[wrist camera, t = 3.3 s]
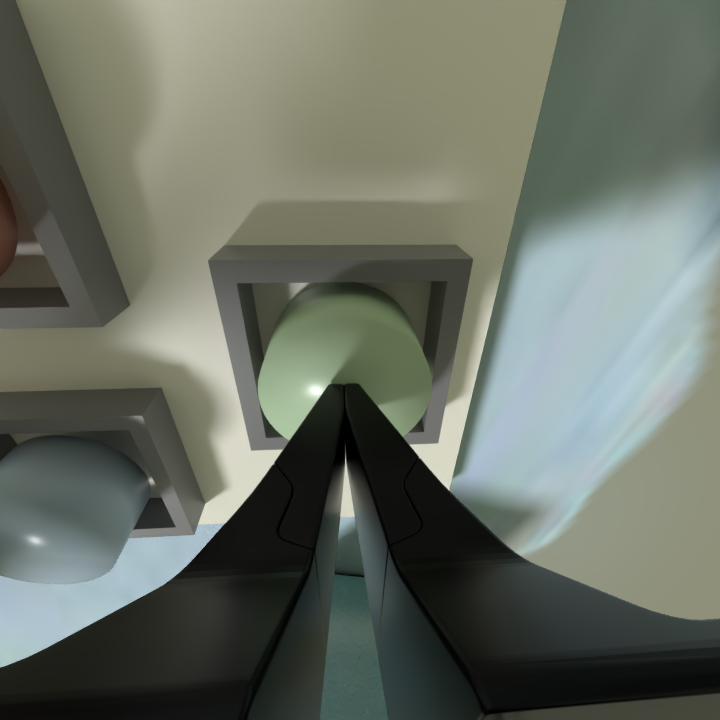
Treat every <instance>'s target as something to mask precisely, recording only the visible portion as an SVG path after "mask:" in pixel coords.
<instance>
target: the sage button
mask: <svg viewBox="0 0 720 720" xmlns="http://www.w3.org/2000/svg"><path fill="white" fill-rule="evenodd" d="M347 383H358V384H360V385H361V387H362V388H363V389H364V390H365V392H366V393H367V394H368V395H369V396H370V398H371V399H372V400H373V401H374V402H375V404H376V405H377V406H378V407H379V409H380V410H381V411H382V412H383V413H384V415H385V416H386V417H387V418H388V419H389V421H390V422H391V423H392V424H393V425H394V427H395V428H396V429H397V430H398V432H399V433H400V434H401V435H402V436H404V435H406V434H407V433H408V432H409V431H410V430H411V429H412V428H413V427H414V426H415V425H416V424H417V423H418V422H419V420H420V419H421V418H422V416H423V414H424V413H425V411H426V409H427V406H428V404H429V401H430V397H431V392H432V378H431V372H430V368H429V365H428V363H427V360H426V358H425V356H424V353H423V351H422V348H421V346H420V344H419V341H418V339H417V337H416V334H415V332H414V330H413V327H412V325H411V322H410V320H409V318H408V316H407V314H406V313H405V311H404V310H403V308H402V307H401V306H400V305H399V304H398V303H397V302H396V301H395V300H394V299H393V298H392V297H391V296H389V295H388V294H386V293H384V292H383V291H381V290H379V289H377V288H375V287H372V286H369V285H366V284H362V283H357V282H331V283H326V284H322V285H319V286H316V287H313V288H311V289H309V290H307V291H305V292H303V293H302V294H300V295H299V296H297V297H296V298H295V299H294V300H292V301H291V302H290V303H289V304H288V305H287V306H286V308H285V309H284V310H283V311H282V313H281V315H280V316H279V318H278V320H277V323H276V325H275V328H274V331H273V334H272V337H271V340H270V343H269V346H268V349H267V352H266V355H265V358H264V361H263V364H262V367H261V371H260V375H259V379H258V397H259V401H260V405H261V408H262V410H263V412H264V415H265V416H266V418H267V419H268V421H269V423H270V424H271V425H272V426H273V427H274V428H275V430H276V431H278V432H279V433H280V434H281V435H282V436H283V437H285V438H286V439H288V440H290V439H291V437H292V436H293V435H294V433H295V432H296V430H297V429H298V427H299V426H300V425H301V423H302V422H303V420H304V419H305V417H306V416H307V415H308V413H309V412H310V410H311V409H312V407H313V406H314V404H315V403H316V402H317V400H318V399H319V397H320V396H321V394H322V393H323V392H324V390H325V389H326V387H327V386H328V385H329V384H343V385H345V384H347ZM345 455H346V450H345Z"/></svg>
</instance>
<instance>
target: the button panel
mask: <svg viewBox="0 0 720 720" xmlns="http://www.w3.org/2000/svg"><path fill="white" fill-rule="evenodd" d="M566 1H567V0H0V179H1V181H2V183H3V185H4V186H5V189H6V191H7V193H8V196H9V198H10V200H11V203H12V206H13V210H14V213H15V216H16V223H17V229H18V243H17V249H16V253H15V256H14V259H13V261H12V263H11V265H10V266H9V268H8V269H7V271H5V272H4V273H3V274H2V275H1V276H0V461H1V460H2V459H3V458H4V457H5V456H6V455H7V454H8V453H9V452H10V451H11V450H12V449H13V448H14V447H16V446H17V445H18V444H20V443H22V442H24V441H26V440H28V439H32V438H35V437H40V436H48V435H65V436H74V437H80V438H85V439H89V440H93V441H96V442H99V443H102V444H104V445H107V446H109V447H112V448H114V449H115V450H117V451H119V452H121V453H123V454H124V455H126V456H127V457H129V458H130V459H131V460H133V461H134V462H135V463H136V464H137V465H138V466H139V467H140V468H141V469H142V470H143V471H144V473H145V474H146V476H147V477H148V480H149V482H150V486H151V494H150V498H149V500H148V502H147V504H146V506H145V508H144V509H143V511H142V513H141V515H140V517H139V519H138V521H137V523H136V525H135V527H134V529H133V531H132V532H131V534H130V536H129V538H142V537H161V536H180V535H194V534H195V531H196V528H197V526H198V524H217V523H226V522H227V521H228V520H229V519H230V518H231V516H232V515H233V514H234V513H235V512H236V511H237V510H238V508H239V507H240V506H241V505H242V504H243V503H244V501H245V500H246V499H247V498H248V497H249V495H250V494H251V493H252V492H253V491H254V489H255V488H256V487H257V485H258V484H259V483H260V481H261V480H262V479H263V477H264V476H265V474H266V473H267V472H268V470H269V469H270V467H271V466H272V465H273V464H274V462H275V460H276V459H277V457H278V456H279V455H280V453H281V452H282V450H283V449H284V447H285V446H286V445H287V443H288V442H289V440H288V439H286V438H285V437H283V436H282V435H281V434H280V433H279V432H278V431H276V430H275V428H274V427H273V426H272V425H271V424H270V423H269V421H268V419H267V418H266V416H265V415H264V412H263V410H262V408H261V405H260V401H259V397H258V379H259V375H260V371H261V367H262V364H263V361H264V358H265V355H266V352H267V349H268V346H269V343H270V340H271V337H272V334H273V331H274V328H275V325H276V323H277V320H278V318H279V316H280V315H281V313H282V311H283V310H284V309H285V308H286V306H287V305H288V304H289V303H290V302H291V301H292V300H294V299H295V298H296V297H297V296H299V295H300V294H302V293H303V292H305V291H307V290H309V289H311V288H313V287H316V286H319V285H322V284H326V283H331V282H357V283H362V284H366V285H369V286H372V287H375V288H377V289H379V290H381V291H383V292H384V293H386V294H388V295H389V296H391V297H392V298H393V299H394V300H395V301H396V302H397V303H398V304H399V305H400V306H401V307H402V308H403V310H404V311H405V313H406V314H407V316H408V318H409V320H410V322H411V325H412V327H413V330H414V332H415V334H416V337H417V339H418V341H419V344H420V346H421V348H422V351H423V353H424V356H425V358H426V360H427V363H428V365H429V368H430V372H431V378H432V392H431V397H430V401H429V404H428V406H427V409H426V411H425V413H424V414H423V416H422V418H421V419H420V420H419V422H418V423H417V424H416V425H415V426H414V427H413V428H412V429H411V430H410V431H409V432H408V433H407V434H406V435H404V436H403V438H404V439H405V440H406V441H407V442H408V444H409V445H410V446H411V447H412V449H413V450H414V451H415V452H416V453H417V455H418V456H419V458H421V459H422V460H423V462H424V463H425V464H426V465H427V467H428V468H429V469H430V470H431V471H432V472H433V474H434V475H435V476H436V477H437V478H438V479H439V480H440V482H441V483H442V484H443V485H444V486H445V487H446V488H447V489H448V490H449V489H450V485H451V481H452V477H453V472H454V468H455V464H456V460H457V456H458V452H459V447H460V443H461V439H462V435H463V431H464V427H465V422H466V418H467V414H468V410H469V406H470V402H471V397H472V393H473V389H474V385H475V381H476V376H477V372H478V368H479V364H480V360H481V356H482V351H483V347H484V343H485V339H486V335H487V331H488V326H489V322H490V318H491V314H492V310H493V306H494V301H495V297H496V293H497V289H498V285H499V280H500V276H501V272H502V268H503V264H504V260H505V255H506V251H507V247H508V243H509V239H510V235H511V230H512V226H513V222H514V218H515V214H516V210H517V205H518V201H519V197H520V193H521V189H522V184H523V180H524V176H525V172H526V168H527V164H528V159H529V155H530V151H531V147H532V143H533V139H534V134H535V130H536V126H537V122H538V118H539V114H540V109H541V105H542V101H543V97H544V93H545V88H546V84H547V80H548V76H549V72H550V68H551V63H552V59H553V55H554V51H555V47H556V43H557V38H558V34H559V30H560V26H561V22H562V18H563V13H564V9H565V5H566ZM340 517H355V515H354V509H353V502H352V496H351V490H350V484H349V478H348V472H347V465H346V455H345V474H344V484H343V494H342V504H341V514H340Z"/></svg>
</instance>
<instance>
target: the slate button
mask: <svg viewBox="0 0 720 720" xmlns="http://www.w3.org/2000/svg"><path fill="white" fill-rule="evenodd" d="M150 494H151V486H150V482H149V480H148V477H147V476H146V474H145V473H144V471H143V470H142V469H141V468H140V467H139V466H138V465H137V464H136V463H135V462H134V461H133V460H131V459H130V458H129V457H127V456H126V455H124V454H123V453H121V452H119V451H117V450H115V449H114V448H112V447H109V446H107V445H104V444H102V443H99V442H96V441H93V440H89V439H85V438H80V437H74V436H65V435H48V436H40V437H35V438H32V439H28V440H26V441H24V442H22V443H20V444H18V445H17V446H16V447H14V448H13V449H12V450H11V451H10V452H9V453H8V454H7V455H6V456H5V457H4V458H3V459H2V460H1V461H0V575H1V576H4V577H8V578H12V579H16V580H21V581H26V582H34V583H43V584H73V583H80V582H86V581H90V580H93V579H96V578H99V577H101V576H103V575H105V574H106V573H107V572H109V571H110V570H111V569H112V568H113V567H114V565H115V563H116V561H117V559H118V557H119V555H120V554H121V552H122V550H123V548H124V546H125V544H126V542H127V540H128V538H129V536H130V534H131V532H132V531H133V529H134V527H135V525H136V523H137V521H138V519H139V517H140V515H141V513H142V511H143V509H144V508H145V506H146V504H147V502H148V500H149V498H150Z"/></svg>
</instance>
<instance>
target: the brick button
mask: <svg viewBox="0 0 720 720" xmlns="http://www.w3.org/2000/svg"><path fill="white" fill-rule="evenodd" d="M17 243H18V229H17V223H16V216H15V213H14V210H13V206H12V203H11V200H10V198H9V196H8V193H7V191H6V189H5V186H4V185H3V183H2V181H1V179H0V276H1V275H2V274H3V273H4V272H5V271H7V269H8V268H9V266H10V265H11V263H12V261H13V259H14V256H15V253H16V249H17Z"/></svg>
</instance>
